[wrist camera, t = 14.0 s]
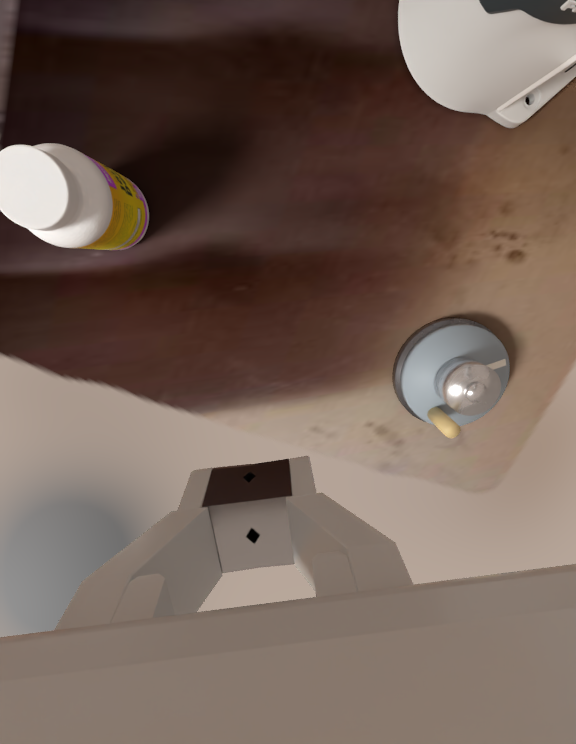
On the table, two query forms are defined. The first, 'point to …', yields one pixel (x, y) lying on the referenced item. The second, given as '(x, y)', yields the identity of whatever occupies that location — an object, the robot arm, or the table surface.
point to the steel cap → (467, 385)
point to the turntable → (433, 355)
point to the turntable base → (410, 344)
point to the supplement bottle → (70, 198)
